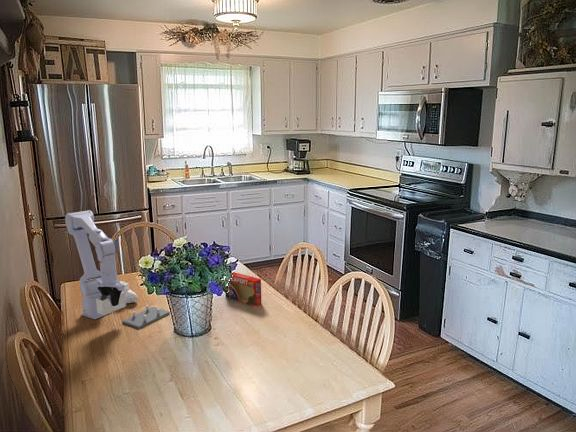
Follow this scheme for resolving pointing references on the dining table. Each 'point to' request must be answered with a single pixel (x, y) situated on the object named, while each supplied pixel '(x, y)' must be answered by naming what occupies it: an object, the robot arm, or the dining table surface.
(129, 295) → the bust
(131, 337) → the dining table surface
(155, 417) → the dining table surface
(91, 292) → the robot arm
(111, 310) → the block
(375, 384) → the dining table surface
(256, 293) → the toy box
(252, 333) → the dining table surface
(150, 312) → the pin tray
